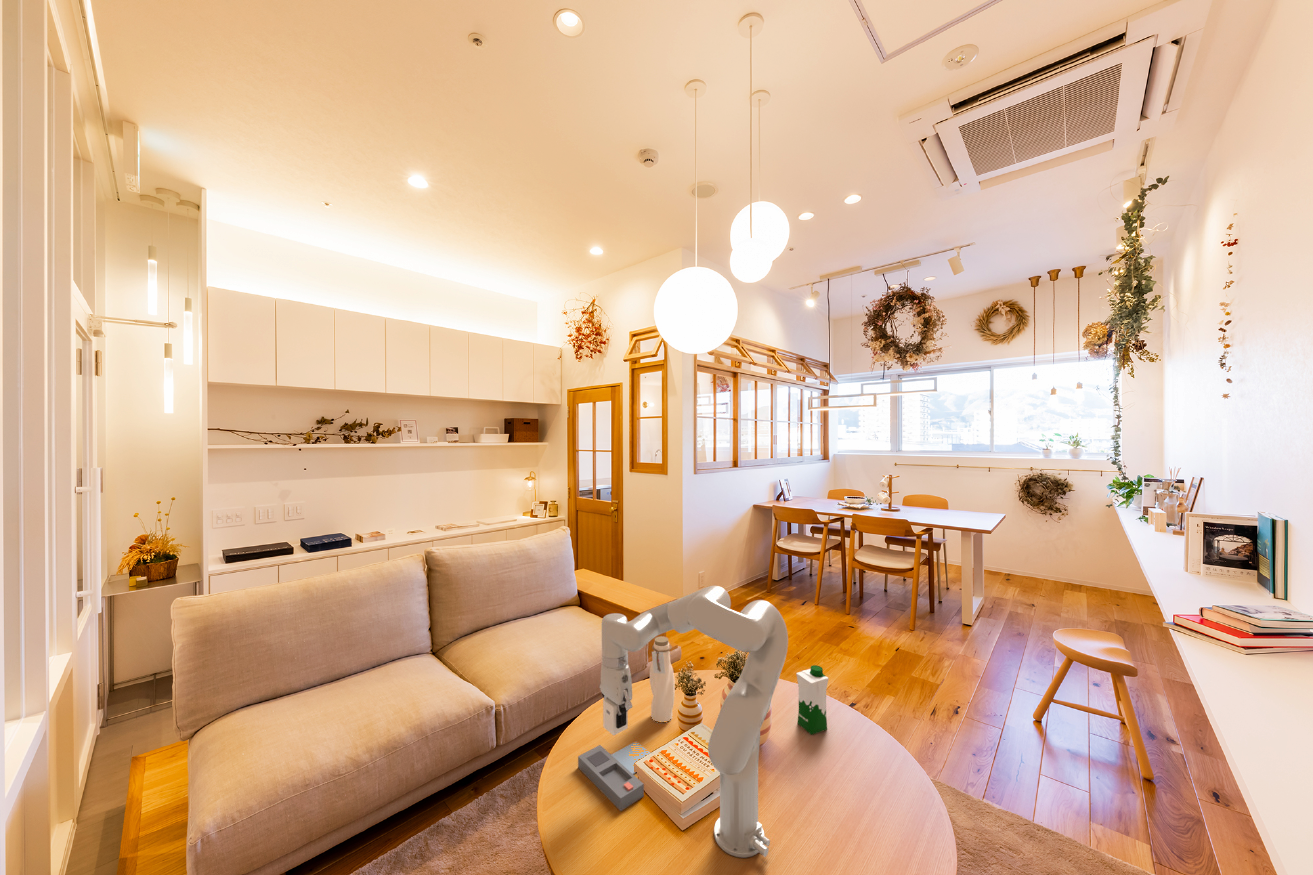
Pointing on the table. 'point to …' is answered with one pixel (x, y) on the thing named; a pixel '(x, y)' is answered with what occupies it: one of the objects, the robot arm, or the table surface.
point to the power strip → (611, 777)
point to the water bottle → (662, 681)
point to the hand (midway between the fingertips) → (615, 721)
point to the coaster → (629, 760)
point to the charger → (612, 717)
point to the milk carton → (812, 699)
